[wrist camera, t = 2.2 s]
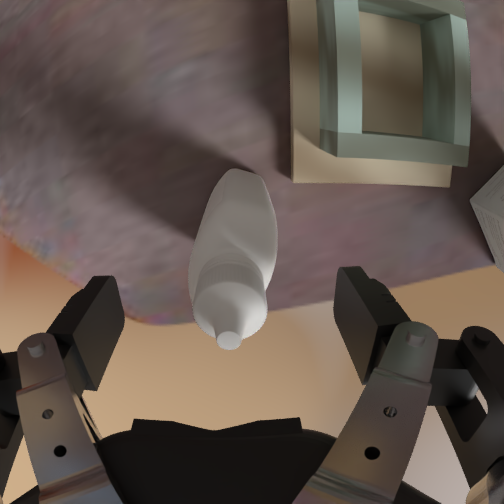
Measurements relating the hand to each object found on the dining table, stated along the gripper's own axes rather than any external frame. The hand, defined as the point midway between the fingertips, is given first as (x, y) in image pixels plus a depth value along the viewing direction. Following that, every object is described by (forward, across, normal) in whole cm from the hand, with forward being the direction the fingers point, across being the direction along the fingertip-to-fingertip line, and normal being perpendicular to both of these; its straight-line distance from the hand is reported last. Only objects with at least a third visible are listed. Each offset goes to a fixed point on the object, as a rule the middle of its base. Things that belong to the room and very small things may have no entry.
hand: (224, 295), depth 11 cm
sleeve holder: (+9, -9, -9) cm, 16 cm away
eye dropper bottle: (+10, 0, 0) cm, 10 cm away
